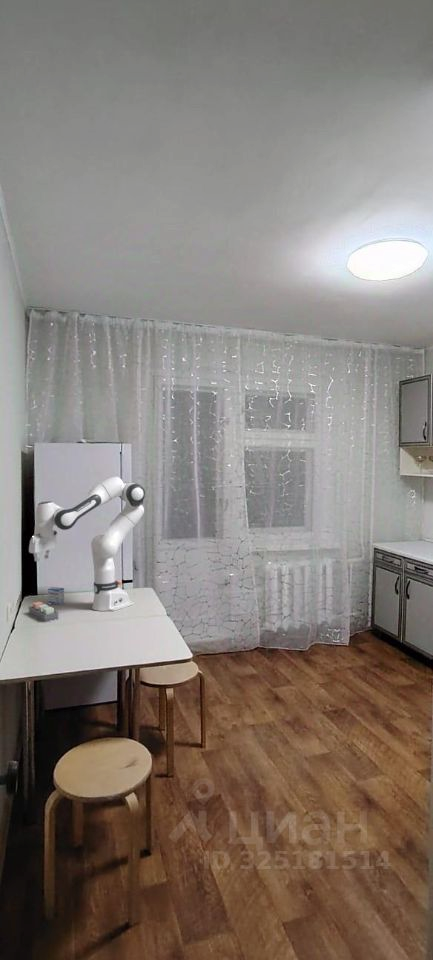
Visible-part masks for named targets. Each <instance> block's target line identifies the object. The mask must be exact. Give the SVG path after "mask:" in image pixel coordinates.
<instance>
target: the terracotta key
mask: <svg viewBox="0 0 433 960" xmlns="http://www.w3.org/2000/svg"><path fill="white" fill-rule="evenodd" d="M39 605H44V602H42V601H37V602H33V603H32V606H33V609H38V606H39Z"/></svg>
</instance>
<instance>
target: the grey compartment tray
mask: <svg viewBox="0 0 433 960" xmlns="http://www.w3.org/2000/svg"><path fill="white" fill-rule="evenodd" d="M29 613H30V614H29ZM28 614H29V615H31V616H33V617H34V618H36V619H38V618H39V619H38V620H40V621H42V622H44V623H47V622H46V621H48V622H51V621H50V620H52V621H56V620H59V612H58V611H56V610H55V609H54V613H51V614H47V615H45V614H43V611H42V612H39V611H38V609H33V605H32V606H28ZM55 619H56V620H55Z"/></svg>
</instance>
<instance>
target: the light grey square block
mask: <svg viewBox="0 0 433 960" xmlns="http://www.w3.org/2000/svg"><path fill="white" fill-rule="evenodd" d="M47 607H50V606H49V604H45V603H43V605H39V606H38V611H39V612H42V611H43V608H47Z"/></svg>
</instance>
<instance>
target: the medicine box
mask: <svg viewBox="0 0 433 960" xmlns="http://www.w3.org/2000/svg"><path fill="white" fill-rule="evenodd" d="M48 603H51V604H50V605H56V604H60V605H62V603H63V604H64V603H65V588H64V587H55V586H54V587H53V586H52V587H48V588H47V604H48Z"/></svg>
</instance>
